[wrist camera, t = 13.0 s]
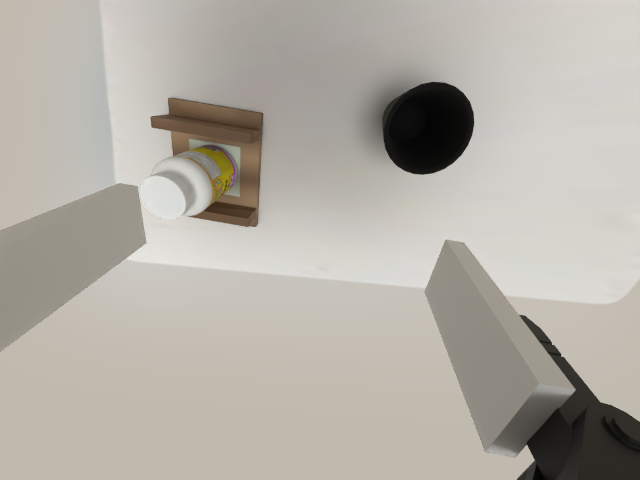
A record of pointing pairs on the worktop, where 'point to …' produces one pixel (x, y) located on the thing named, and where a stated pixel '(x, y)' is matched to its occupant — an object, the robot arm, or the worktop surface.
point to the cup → (428, 127)
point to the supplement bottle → (188, 182)
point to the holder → (229, 134)
